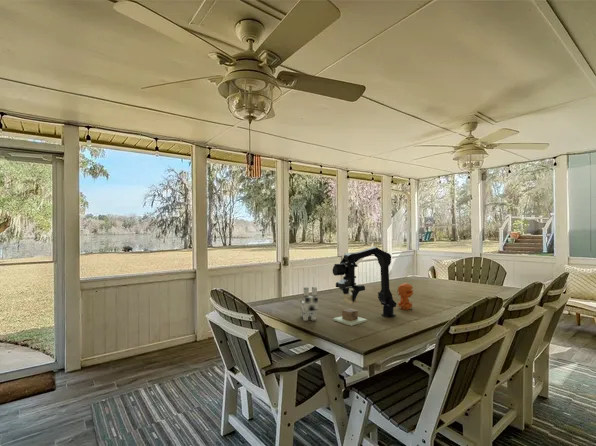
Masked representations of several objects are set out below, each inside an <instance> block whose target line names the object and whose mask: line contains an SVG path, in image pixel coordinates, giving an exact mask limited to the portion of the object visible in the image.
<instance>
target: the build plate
mask: <svg viewBox="0 0 596 446" xmlns="http://www.w3.org/2000/svg"><path fill="white" fill-rule="evenodd" d="M332 320H333V321H334V322H338V323H341V324H344V325H347V326H357V325H359V324H362V323H366V322H367V321H368V318H363V317H359V316H358V319H356V320H352V321H349V320H345V319H342V315H341V316H337V317H333V319H332Z"/></svg>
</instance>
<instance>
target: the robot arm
mask: <svg viewBox="0 0 596 446" xmlns="http://www.w3.org/2000/svg"><path fill="white" fill-rule="evenodd" d="M372 255H373V256H374V257H375V258H377V262H378V265H379V267H380V284H381V286H380V287H381V288H380V289H381V290H380V291H377V296H378V297H377V298H378V301H379V302H380V305H381V306H383V308H382V311H383V312H382V314H381V316H382V317H386V318H392V317H395V316H396V314H394V310H395V309H394V308H396V307H397V302H396V301H395V300H394V299H393V294H392V292H391V290H390V271H389V270H390V268H389V267H390V265H391V263H392V255H391V254H390V252H386V251H384V250H382V249H380V248H379V247H377V246H372V247H369V248H367V249H364V250H361V251H357V252H347V253H344V255H343V257H342V259H341V261H340V262H339V263H334V265H333V268H332V274H333V276H343V277H342V279H341V280H339V281H337V282H336V283H335V288H339V290H341V291H342V293H343V295H344V294H347V293H352V300H353V302H354V301H355V299H356V300H357V296H358V294H359V293H360V292H363V291H365V290H366V286H365V285H364V284H357V283H356V282H355V281H356V278H357V275H356V273H355V269H356V268H357V267H359V265H358V264H357V262H358V261H360V260H361V259H363V258H367V257H369V256H372ZM350 289H352V290H350ZM349 291H350V292H349Z"/></svg>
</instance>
